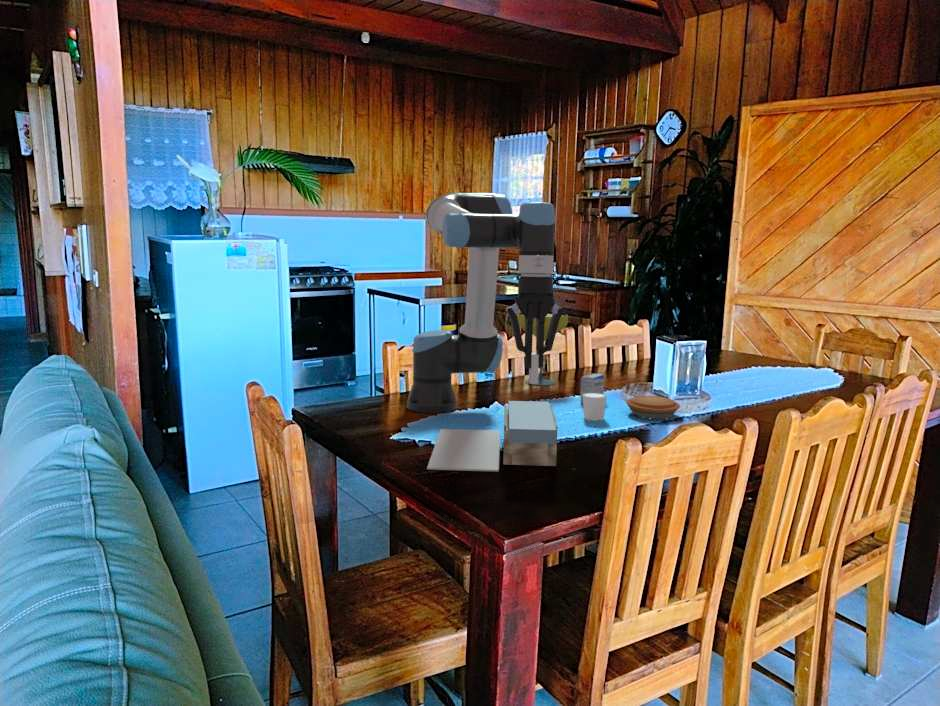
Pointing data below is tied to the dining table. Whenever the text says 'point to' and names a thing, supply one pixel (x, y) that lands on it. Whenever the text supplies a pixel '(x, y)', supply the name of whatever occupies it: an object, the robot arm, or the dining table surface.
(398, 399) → the dining table surface
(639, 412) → the pie
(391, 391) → the dining table surface
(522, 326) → the cocktail glass
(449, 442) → the mat
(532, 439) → the pale grey block
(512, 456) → the wooden box
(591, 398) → the white cup
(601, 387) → the medicine box
